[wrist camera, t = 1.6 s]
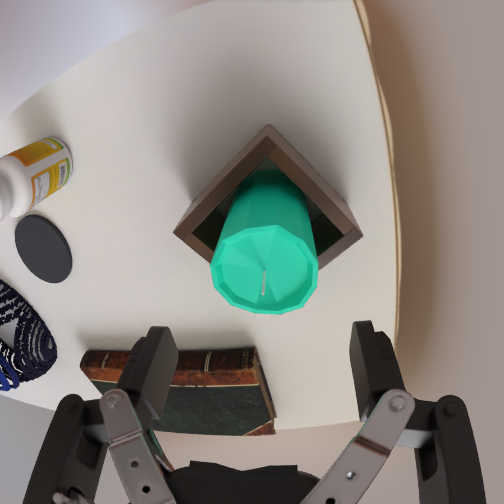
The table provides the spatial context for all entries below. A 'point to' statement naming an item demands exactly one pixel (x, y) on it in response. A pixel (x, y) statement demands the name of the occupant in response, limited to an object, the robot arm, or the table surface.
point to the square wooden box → (299, 172)
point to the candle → (266, 247)
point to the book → (202, 391)
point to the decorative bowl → (30, 365)
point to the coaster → (43, 249)
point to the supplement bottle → (32, 175)
